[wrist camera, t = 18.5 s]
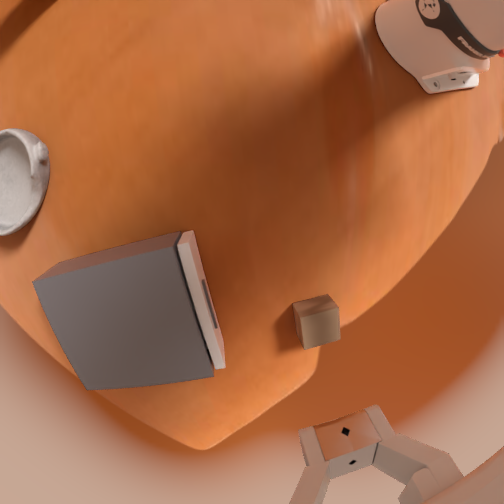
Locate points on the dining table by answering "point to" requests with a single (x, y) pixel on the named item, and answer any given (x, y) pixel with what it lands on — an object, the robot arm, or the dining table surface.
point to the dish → (21, 178)
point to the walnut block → (317, 321)
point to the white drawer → (200, 297)
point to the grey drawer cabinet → (126, 316)
